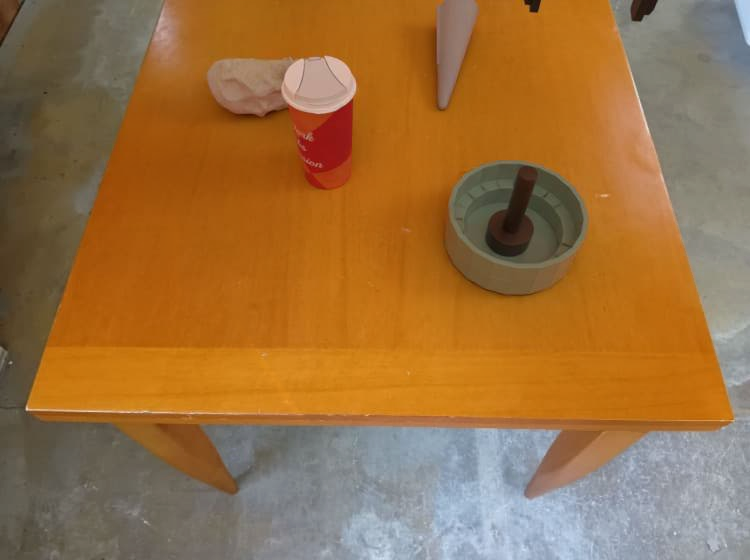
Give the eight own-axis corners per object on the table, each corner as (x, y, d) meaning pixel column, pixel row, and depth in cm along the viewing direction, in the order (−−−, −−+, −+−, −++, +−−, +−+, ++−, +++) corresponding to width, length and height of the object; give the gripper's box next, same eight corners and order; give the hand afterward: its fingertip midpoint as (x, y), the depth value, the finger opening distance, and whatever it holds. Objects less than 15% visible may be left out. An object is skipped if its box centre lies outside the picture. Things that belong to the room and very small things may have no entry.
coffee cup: (293, 153, 76) (276, 56, 63) (354, 145, 77) (349, 47, 64) (300, 201, 71) (283, 107, 59) (365, 192, 72) (362, 97, 59)
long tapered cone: (483, 90, 76) (479, -7, 84) (435, 93, 77) (435, -3, 85) (482, 120, 81) (478, 26, 90) (437, 123, 82) (437, 29, 90)
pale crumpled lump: (199, 121, 82) (226, 114, 69) (192, 67, 80) (218, 49, 67) (298, 117, 89) (340, 110, 76) (294, 68, 87) (336, 52, 74)
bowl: (599, 253, 67) (617, 221, 62) (504, 321, 62) (516, 293, 57) (510, 175, 74) (519, 141, 68) (417, 231, 69) (421, 199, 64)
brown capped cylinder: (538, 242, 67) (565, 176, 57) (506, 264, 66) (528, 200, 56) (507, 214, 69) (528, 146, 60) (475, 235, 68) (491, 168, 58)
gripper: (547, -217, 33) (498, 31, 47) (802, -204, 32) (675, 46, 46) (546, -261, 37) (501, -20, 51) (773, -251, 36) (664, -7, 50)
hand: (584, 11), depth 49 cm, fingers open, 8 cm apart
